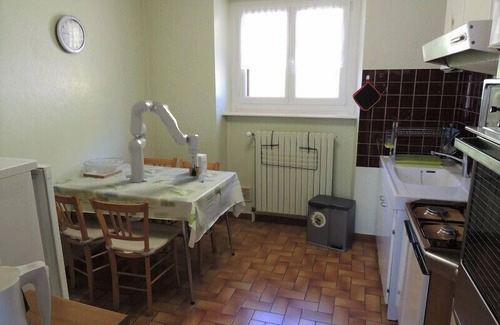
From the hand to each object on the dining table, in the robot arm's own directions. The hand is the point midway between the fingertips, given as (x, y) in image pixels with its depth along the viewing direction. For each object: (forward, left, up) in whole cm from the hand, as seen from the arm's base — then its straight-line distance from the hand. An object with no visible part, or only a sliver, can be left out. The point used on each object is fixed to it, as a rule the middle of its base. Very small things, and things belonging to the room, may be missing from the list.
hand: (194, 174), depth 261 cm
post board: (-4, +2, -4) cm, 6 cm away
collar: (0, 0, -1) cm, 1 cm away
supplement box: (+2, +21, -5) cm, 22 cm away
